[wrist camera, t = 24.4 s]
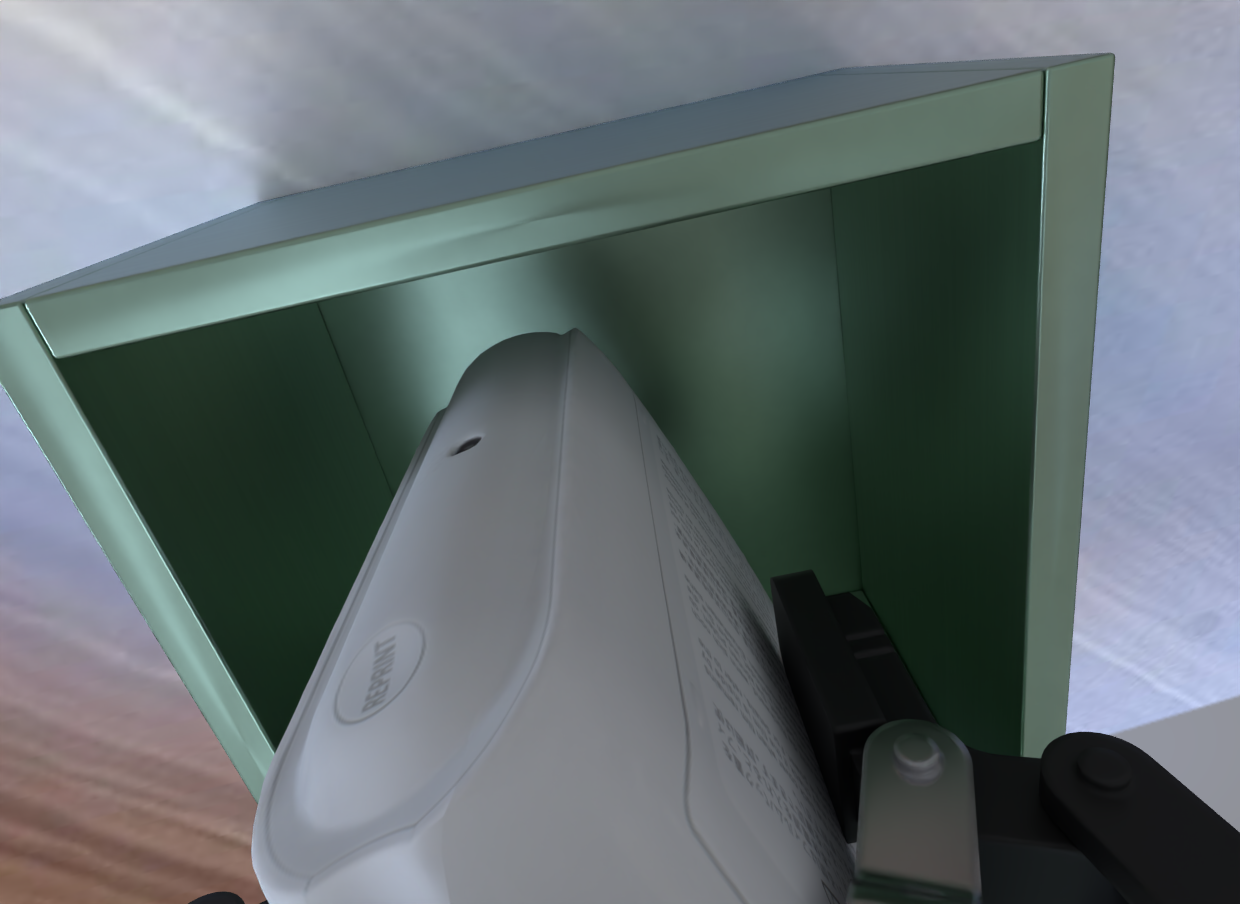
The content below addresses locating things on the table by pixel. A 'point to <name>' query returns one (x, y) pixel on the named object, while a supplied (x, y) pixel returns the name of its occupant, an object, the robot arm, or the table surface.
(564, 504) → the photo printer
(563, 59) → the table surface
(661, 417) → the box
